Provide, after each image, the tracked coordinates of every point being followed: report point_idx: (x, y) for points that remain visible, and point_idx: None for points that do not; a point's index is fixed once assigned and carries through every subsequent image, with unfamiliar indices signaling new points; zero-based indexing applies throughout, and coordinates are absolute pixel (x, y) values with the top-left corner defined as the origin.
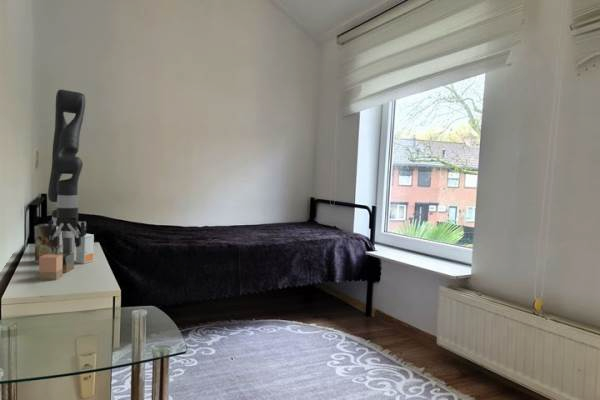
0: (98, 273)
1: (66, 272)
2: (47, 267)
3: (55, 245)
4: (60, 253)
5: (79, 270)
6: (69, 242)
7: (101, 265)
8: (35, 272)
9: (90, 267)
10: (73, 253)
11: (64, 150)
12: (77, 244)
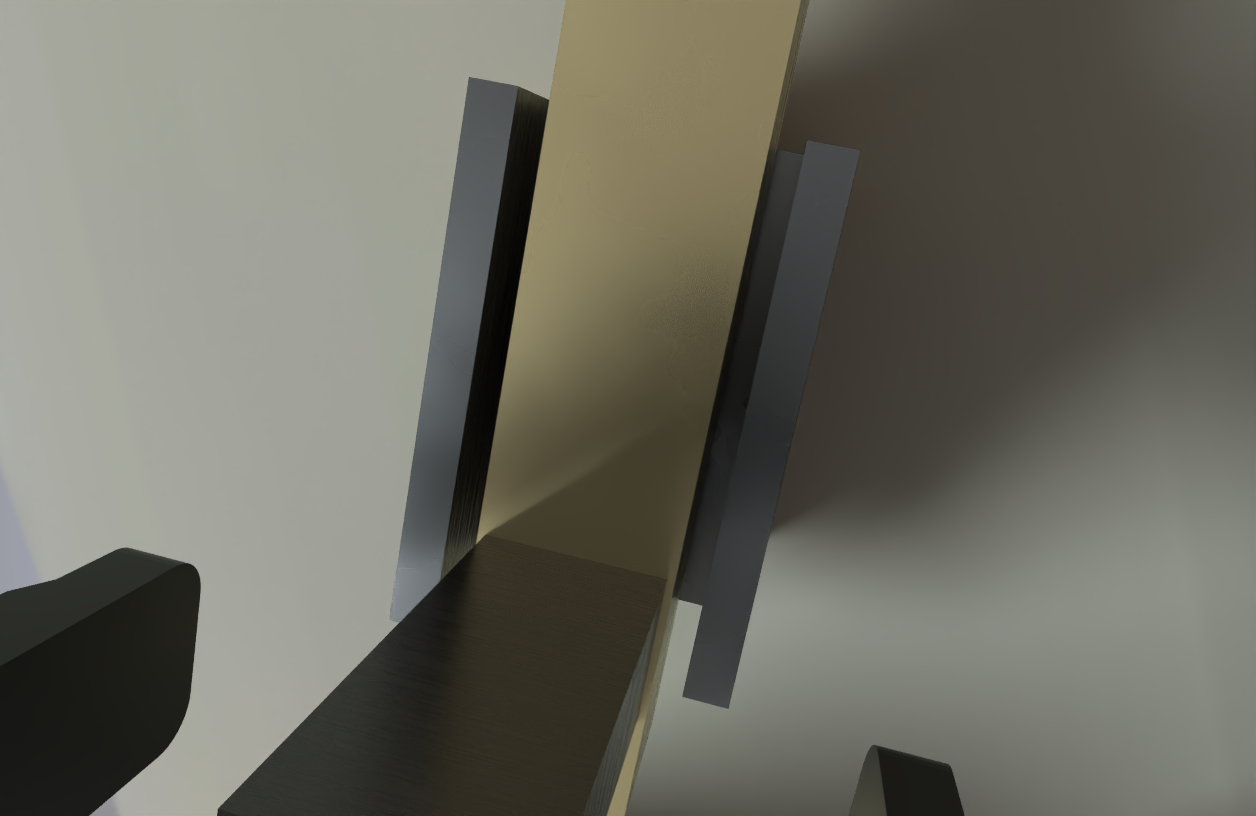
0: (4, 41)
1: None
2: None
3: (940, 768)
4: (740, 542)
5: (389, 320)
6: (326, 701)
7: None
8: (1244, 237)
9: (252, 535)
10: (402, 584)
11: None
12: (68, 596)
